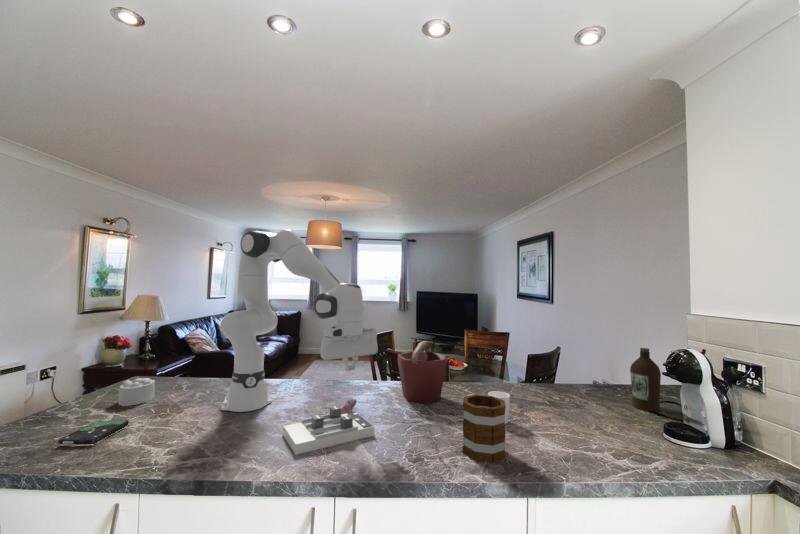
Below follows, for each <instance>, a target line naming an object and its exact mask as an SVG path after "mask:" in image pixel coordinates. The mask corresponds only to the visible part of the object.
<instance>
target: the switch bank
mask: <svg viewBox="0 0 800 534" xmlns="http://www.w3.org/2000/svg"><path fill="white" fill-rule="evenodd" d="M347 415H349V416H351V417H352V418H353V427H352V428H347V429H343V430H342V429H341V428H340V418H341V417H342V416H347ZM322 416H323V417H324V425H323V427H322V428H317V429H313V428H312V427H311V425H312V416H311V417H306V418H301V422H296V423H291V424H285V425H283V427H282V428H283V429H282V435H283V438H284V439H285V440H286V442H287V444H288V446H289V447H290V449H291V450H292V451H293V454H294V455H295V456H297V455H301V454H305V453H309V452H314V451H317V450H320V449H325V448H329V447H334V446H337V445H340V444H346V443H349V442H353V441H354V442H355V441H357V440H361V439H364V438H369V437H374V436H375V426H374V425H373V424H372V423H371V422H370V421H368V420H367V419H366V418H364V417H363V416H362V415H361V414H359V413H358V412H356V411H352V412H350V413H346V414H341V417H339V418H334V419H331V418H330V413H329V414H322Z"/></svg>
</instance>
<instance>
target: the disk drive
mask: <svg viewBox="0 0 800 534" xmlns="http://www.w3.org/2000/svg"><path fill="white" fill-rule="evenodd" d="M129 421H130V420H129V419H113V420H102V419H100V420H98V421H94V422H92V423H90V424H87V425H86V426H83V427H82V428H79V429H78V430H75V431H73V432H72V433H69V434H67V435H66V436H65V435H64V436H63V437H61V438H59V439H58V441H57V442H58V443H60V444H95V443H97V442H98V441H100V440H102V439H103V438H105V437H107V436H109V435H111V434H113V433H115V432H116V431H118V430H120V429H122V428H124V427H125V426H127V425H128V426H129ZM58 443H57V444H58Z"/></svg>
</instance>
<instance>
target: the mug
mask: <svg viewBox="0 0 800 534" xmlns="http://www.w3.org/2000/svg"><path fill="white" fill-rule="evenodd" d="M462 406H463V421H462V435H463V440H462V441H463V444H462V445H463V446H462V454H463V455H464V456H467V457H468V458H469V459H471V460H472V461H475V462H481V463H482V462H484V463H488V462H489V464H495V463H498V462H501V461H503V460H505V459H506V450H505V448H506V445H505V444H506V443H505V442H506V424H505V408H506V406H505V401H504V400H501V399H499V398H496V397H493V396H488V394H487V395H486V394H474V393H470V394H467V395H465V396H463V400H462Z"/></svg>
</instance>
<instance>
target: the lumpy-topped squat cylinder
mask: <svg viewBox="0 0 800 534" xmlns="http://www.w3.org/2000/svg"><path fill="white" fill-rule="evenodd" d="M155 389H156V380H155V379H151V378H149V377H142V378H141V377H140V378H135V379H134V380H130V379H127V380H124V381H123V382H122V384H121V385H120V386H119V389H118V391H119V392H118V404H119V405H121V406H129V405H135V404H140V403H143V402H146V401H148V400H150V399H152V398H153V397H154V398H155V393H156V392H155ZM154 398H153V399H154ZM153 399H152V400H153ZM150 401H151V400H150ZM148 402H149V401H148ZM146 403H147V402H146ZM143 404H144V403H143ZM119 405H118V406H119ZM140 405H141V404H140Z"/></svg>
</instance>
